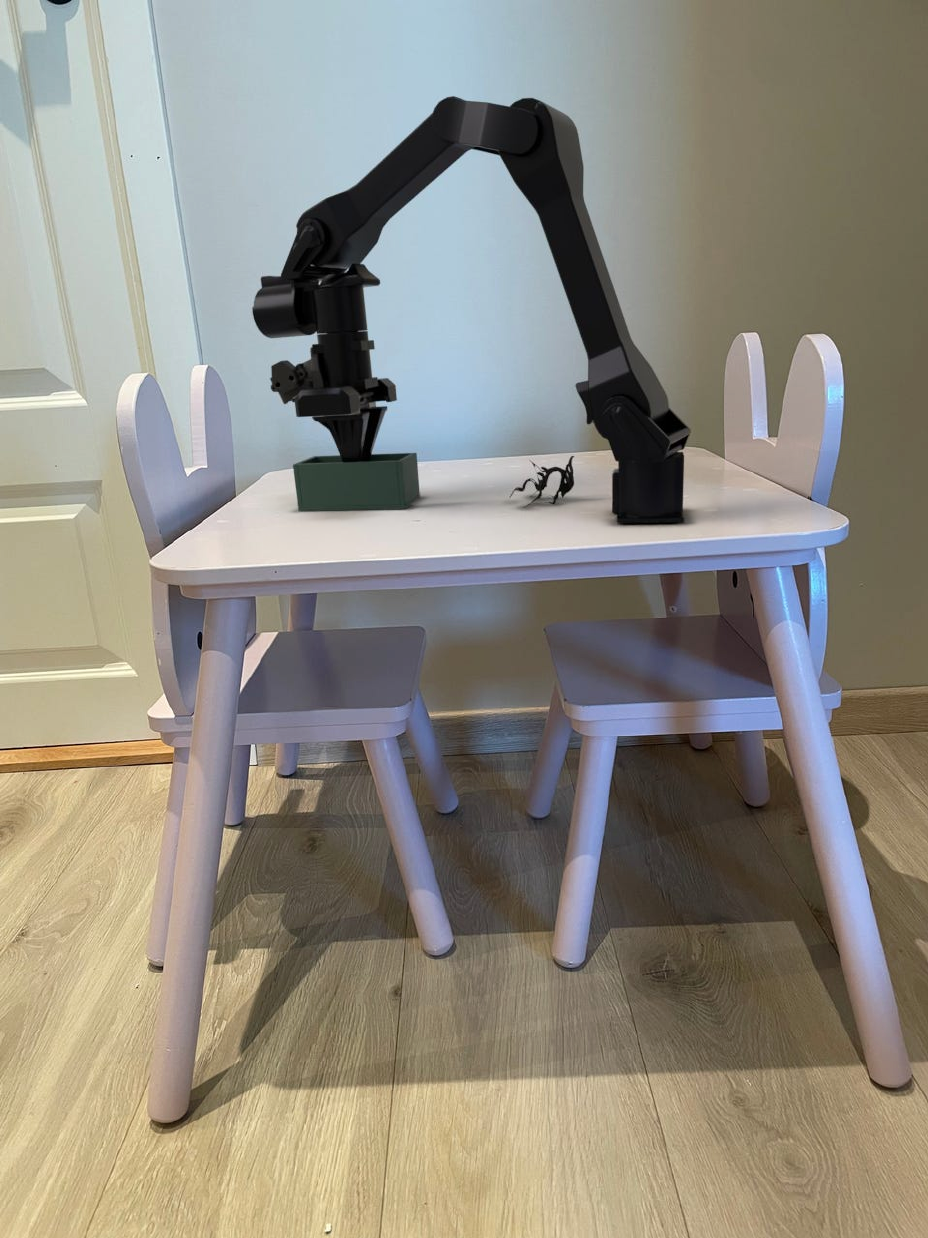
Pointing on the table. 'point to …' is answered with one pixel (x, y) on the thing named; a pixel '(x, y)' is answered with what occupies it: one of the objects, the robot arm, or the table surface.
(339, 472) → the bin
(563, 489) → the creature
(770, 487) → the table surface
